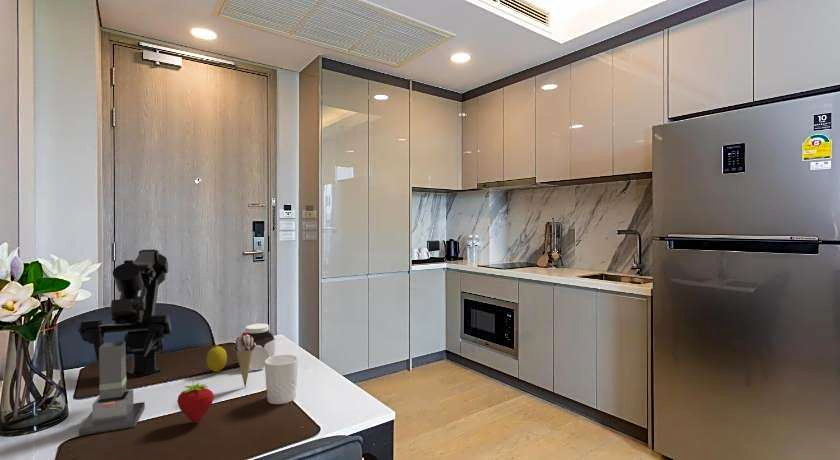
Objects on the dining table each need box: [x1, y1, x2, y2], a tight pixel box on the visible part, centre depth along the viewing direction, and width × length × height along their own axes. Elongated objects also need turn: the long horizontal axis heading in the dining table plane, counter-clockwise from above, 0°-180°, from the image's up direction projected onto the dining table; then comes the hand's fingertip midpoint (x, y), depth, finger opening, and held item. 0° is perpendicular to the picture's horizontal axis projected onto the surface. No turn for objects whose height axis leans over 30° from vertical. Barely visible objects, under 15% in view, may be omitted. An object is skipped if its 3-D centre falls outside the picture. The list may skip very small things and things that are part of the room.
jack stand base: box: [78, 389, 146, 437], centre depth 96 cm, size 10×10×6 cm
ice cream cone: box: [232, 331, 256, 388], centre depth 115 cm, size 6×6×15 cm
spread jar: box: [245, 323, 276, 371], centre depth 133 cm, size 12×11×12 cm
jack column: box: [98, 340, 127, 399], centre depth 96 cm, size 4×4×11 cm
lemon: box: [206, 345, 228, 374], centre depth 127 cm, size 6×6×8 cm
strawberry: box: [176, 379, 214, 424], centre depth 95 cm, size 6×8×10 cm
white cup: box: [264, 354, 299, 405], centre depth 108 cm, size 8×8×10 cm
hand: (121, 358), depth 103 cm, fingers open, 9 cm apart
